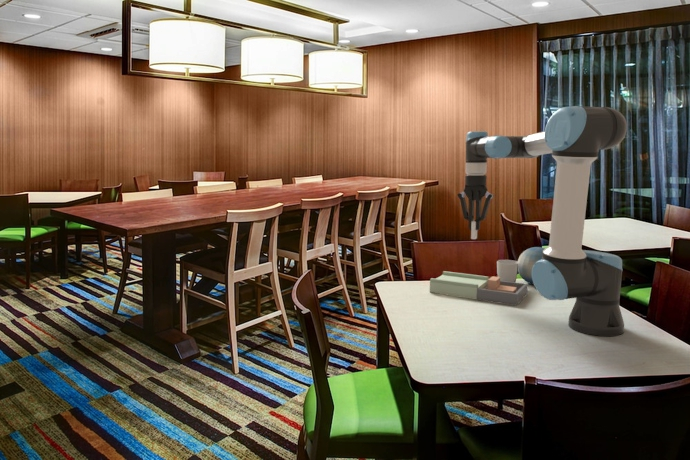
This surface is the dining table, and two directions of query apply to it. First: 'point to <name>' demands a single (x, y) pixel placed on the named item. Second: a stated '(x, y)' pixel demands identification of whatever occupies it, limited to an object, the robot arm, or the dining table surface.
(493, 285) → the tile rear
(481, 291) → the tray
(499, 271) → the cup
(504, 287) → the tile front
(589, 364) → the dining table surface
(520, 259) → the decorative ball
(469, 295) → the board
